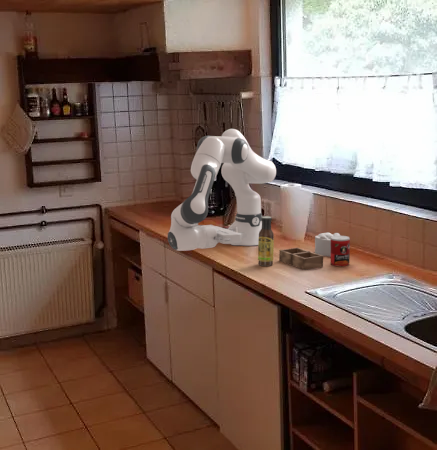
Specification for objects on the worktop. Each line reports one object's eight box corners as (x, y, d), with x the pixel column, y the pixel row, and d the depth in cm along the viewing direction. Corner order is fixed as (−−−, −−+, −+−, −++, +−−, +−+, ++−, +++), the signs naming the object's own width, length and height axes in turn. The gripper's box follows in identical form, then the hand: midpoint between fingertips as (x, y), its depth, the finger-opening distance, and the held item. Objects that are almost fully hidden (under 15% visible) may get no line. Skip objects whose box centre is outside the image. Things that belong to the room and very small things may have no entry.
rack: (279, 260, 299) (279, 250, 298) (297, 257, 303) (297, 247, 302) (304, 269, 283) (304, 258, 282) (322, 266, 287) (323, 255, 287)
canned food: (334, 266, 287) (334, 240, 285) (327, 262, 295) (327, 236, 292) (352, 265, 288) (352, 238, 286) (345, 261, 296) (345, 235, 294)
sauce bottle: (255, 266, 291) (255, 217, 287) (261, 262, 297) (261, 215, 293) (270, 267, 288) (270, 218, 284) (276, 263, 294) (275, 216, 290)
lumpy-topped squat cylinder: (330, 249, 318) (330, 230, 316) (349, 254, 307) (349, 235, 305) (311, 252, 313) (311, 232, 312) (330, 258, 302) (330, 238, 300)
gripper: (221, 232, 268) (253, 228, 274) (196, 224, 285) (227, 221, 292) (221, 249, 269) (253, 245, 275) (197, 240, 287) (227, 236, 293)
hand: (239, 232), depth 284 cm, fingers open, 8 cm apart
